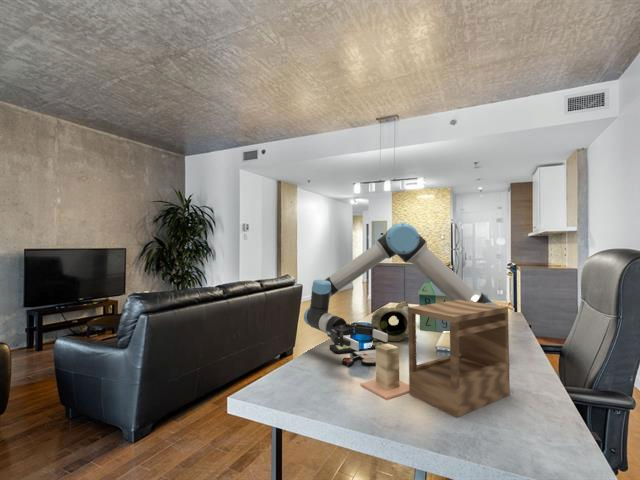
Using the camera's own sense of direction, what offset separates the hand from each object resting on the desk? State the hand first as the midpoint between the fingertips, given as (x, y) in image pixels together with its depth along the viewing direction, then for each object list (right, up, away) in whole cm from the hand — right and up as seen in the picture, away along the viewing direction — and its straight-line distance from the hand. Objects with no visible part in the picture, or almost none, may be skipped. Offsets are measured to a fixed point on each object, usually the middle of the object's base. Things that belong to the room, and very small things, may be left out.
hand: (373, 342), depth 115 cm
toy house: (+44, -12, +63) cm, 77 cm away
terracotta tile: (+3, -11, -9) cm, 15 cm away
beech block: (+3, -11, -9) cm, 14 cm away
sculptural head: (+17, -12, +47) cm, 52 cm away
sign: (+2, -12, +22) cm, 25 cm away
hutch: (+23, -11, -14) cm, 29 cm away
